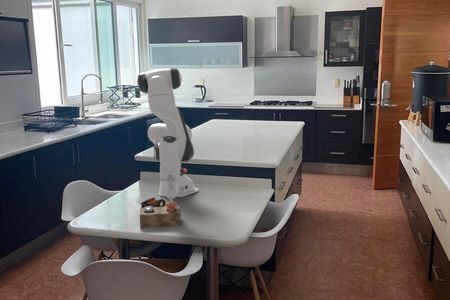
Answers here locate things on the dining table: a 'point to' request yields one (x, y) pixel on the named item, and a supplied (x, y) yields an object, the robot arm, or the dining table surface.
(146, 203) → the pottery mug
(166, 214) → the walnut plug panel
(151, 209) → the steel plug
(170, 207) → the red plug
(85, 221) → the dining table surface
